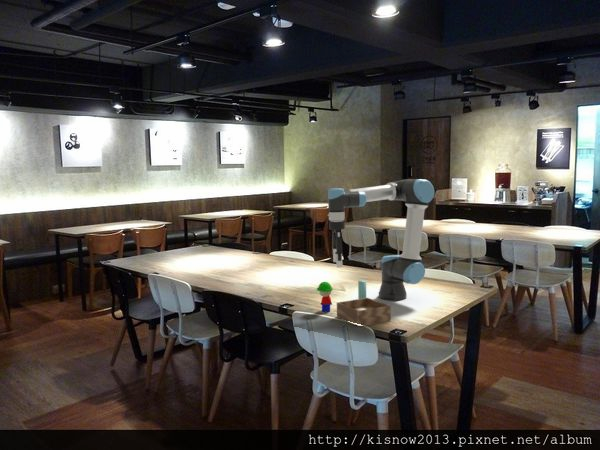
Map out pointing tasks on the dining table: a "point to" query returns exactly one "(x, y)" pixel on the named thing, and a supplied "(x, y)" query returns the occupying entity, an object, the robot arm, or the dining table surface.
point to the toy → (325, 295)
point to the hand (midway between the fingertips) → (337, 264)
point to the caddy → (364, 311)
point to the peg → (361, 289)
